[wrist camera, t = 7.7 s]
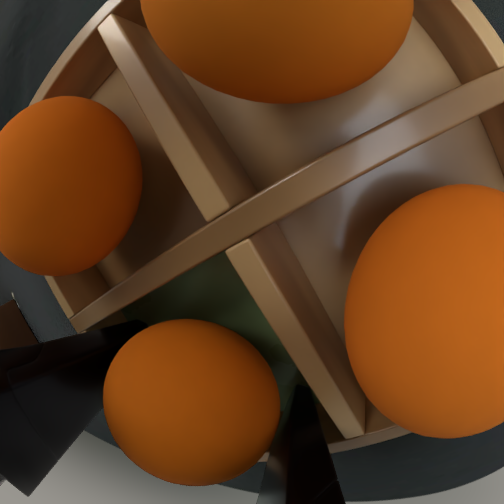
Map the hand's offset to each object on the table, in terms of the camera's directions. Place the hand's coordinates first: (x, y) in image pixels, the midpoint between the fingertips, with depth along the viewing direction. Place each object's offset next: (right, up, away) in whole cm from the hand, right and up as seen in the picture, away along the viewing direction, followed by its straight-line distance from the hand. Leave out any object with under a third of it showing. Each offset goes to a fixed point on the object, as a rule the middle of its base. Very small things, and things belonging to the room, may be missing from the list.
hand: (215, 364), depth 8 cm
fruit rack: (+1, +5, -1) cm, 5 cm away
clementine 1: (-3, +6, 0) cm, 7 cm away
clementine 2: (+2, +9, -3) cm, 9 cm away
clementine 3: (0, 0, 0) cm, 0 cm away
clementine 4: (+6, +3, -2) cm, 7 cm away
